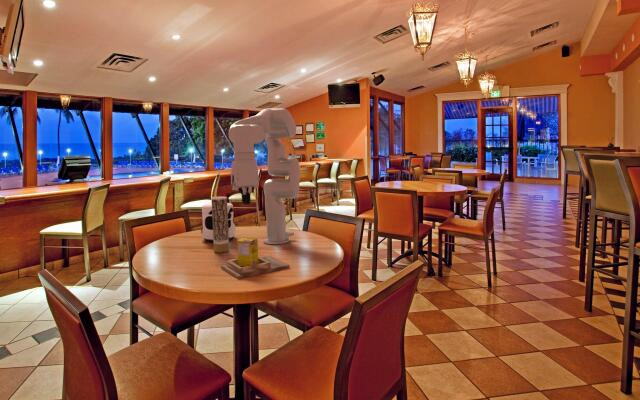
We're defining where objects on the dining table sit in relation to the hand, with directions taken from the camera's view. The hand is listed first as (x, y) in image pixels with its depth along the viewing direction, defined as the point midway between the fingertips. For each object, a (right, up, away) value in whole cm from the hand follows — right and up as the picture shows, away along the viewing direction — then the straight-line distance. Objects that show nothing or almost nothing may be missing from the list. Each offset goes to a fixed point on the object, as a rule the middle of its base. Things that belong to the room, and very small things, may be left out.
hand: (246, 203), depth 156 cm
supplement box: (+1, -25, 0) cm, 25 cm away
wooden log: (-16, -22, +27) cm, 38 cm away
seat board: (+3, -26, +2) cm, 26 cm away
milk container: (-23, -19, +50) cm, 58 cm away
